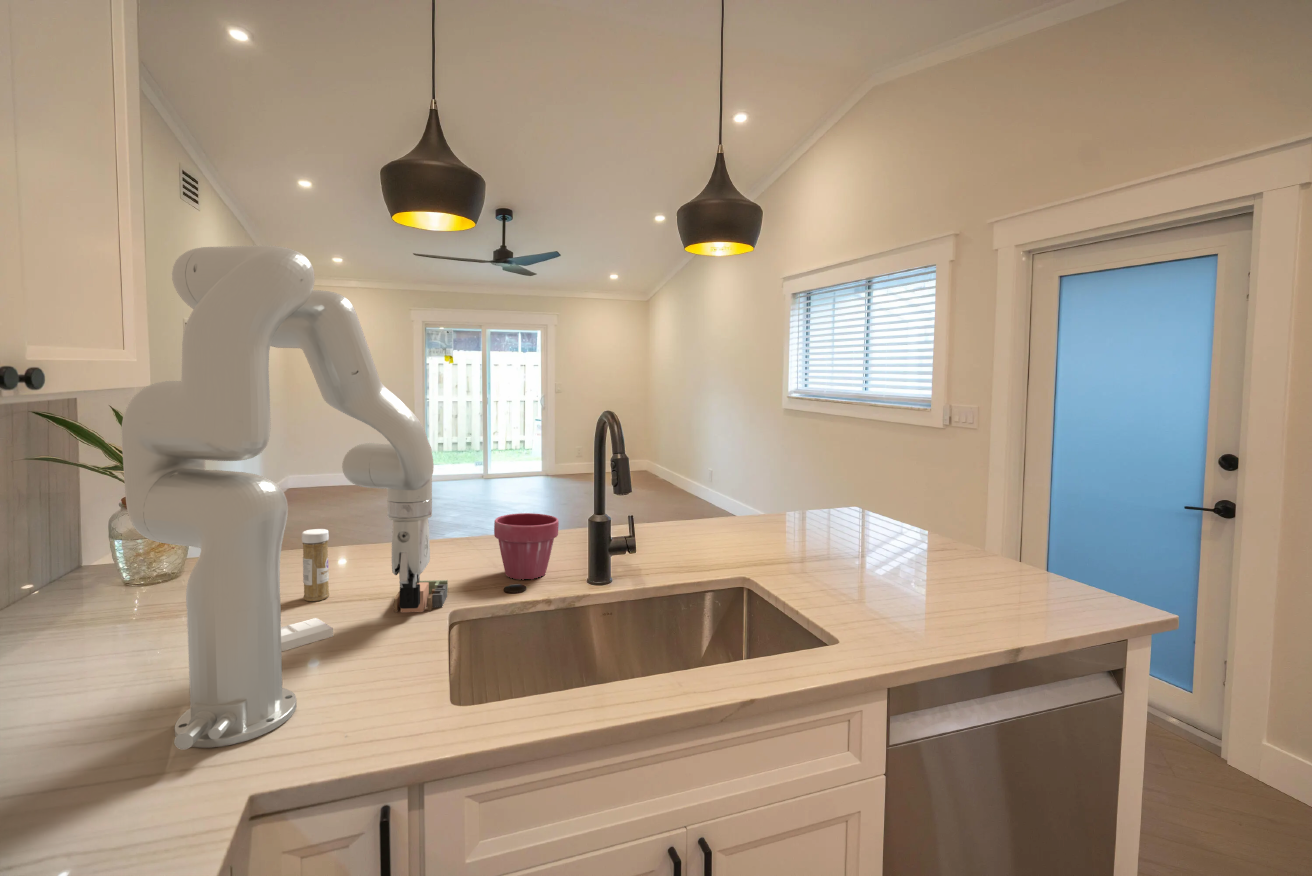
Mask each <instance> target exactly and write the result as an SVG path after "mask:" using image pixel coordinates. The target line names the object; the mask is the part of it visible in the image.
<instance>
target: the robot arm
mask: <svg viewBox="0 0 1312 876" xmlns="http://www.w3.org/2000/svg"><path fill="white" fill-rule="evenodd" d="M171 277H172V278H171V279H172V283H173V287H174V289H175V291H176V293H177V294H178V296H179V298H180V299H181V301H183V302H184V303H185V304H186V305H187V306H189V307H190V308H191V309H192V311H191V313H190V315H189V317H188V319H187V322H186V324H185V327H184V331H183V335H182V342H181V343H182V344H181V348H182V349H181V379H180V380H166V381H161V382H160V381H158V382H155V383H152V384H149V385H147V386H146V387H144V388H142V389H140V390H139V391H138V392H137V393H136V394H135V395H134V396H133V397H132V398H131V399H130V401H129V403H127V406H126V409H125V411H124V414H123V416H122V421H121V449H122V465H123V479H124V481H123V482H124V493H125V503H126V510H127V514H128V517H129V520H130V522H131V525H132V526H133V528H134V529H135V530H136V532H138V534H140V535H141V536H142V537H144V538H146V539H148V540H150V541H152V542H153V541H154V542H157V543H161V544H167V545H176V546H183V547H193V548H198V549H200V555H199V556H198V558H197V561H196V563H195V564H194V567H193V569H192V570H191V573H190V575H189V578H188V580H187V583H186V584H187V585H186V593H185V598H186V599H185V600H186V604H185V605H186V622H187V625H186V626H187V644H188V645H187V647H188V648H187V649H188V651H187V652H188V675H189V676H188V677H189V679H188V680H189V703H190V705H189V706H190V708H189V709H187V710H186V711H185V712H184V713H182V715H180V717H179V718H178V719H177V721H176V722H175V725H174V737H175V738H174V743H173V744H174V746H175V747H176V748H177V749H179V750H188V749H190V748H191V747H192V748H199V749H200V748H209V749H210V748H216V747H217V748H219V747H226V746H232V745H235V744H239V743H243V742H244V743H245V742H247V741H250V740H253V739H256V738H258V737H261V736H263V735H265V734H267V733H269V732H271V731H273V730H275V729H277V728H278V727H280V726H281V725H283V724H285V722H287V721H288V720H289V719H290V718H291V717H292V716H293V714H294V713H295V711H296V709H297V697H296V694H295V693H294V692H293V691H292V690H289V689H288V688H285V687H283V671H282V670H283V666H282V665H283V664H282V652H281V627H282V625H281V624H282V623H281V621H282V615H281V614H282V612H281V611H282V610H281V608H282V607H281V582H280V581H281V575H280V574H281V556H282V555H281V553H282V545H283V540H284V535H285V530H286V526H287V522H288V514H289V504H288V498H287V497H286V494H285V492H284V491H283V489H282V488H281V487H280V485H278V484H277V483H276V482H274V481H273V480H272V479H269V478H267V477H265V476H262V475H259V474H257V473H256V474H255V473H252V472H245V471H235V470H234V471H232V470H221V469H206V461H212V462H213V461H214V462H215V461H217V462H238V461H246V460H249V459H253V458H256V456H259V455H260V454H262V453H263V452H264V451H265V449H266V448H267V446H268V444H269V441H270V437H271V424H272V423H271V419H272V418H271V398H270V397H271V395H270V390H271V389H270V373H269V372H270V371H269V369H270V368H269V367H270V364H269V363H270V349H271V348H275V349H276V348H277V349H300V350H301V351H302V352H303V353H304V357H305V358H306V360H307V363H308V365H309V368H310V370H311V372H312V374H313V375H312V376H314V380H315V382H316V384H317V387H318V389H319V392H320V394H321V397H322V398H323V401H324V402H325V403H327V404H328V405H329V406H330V407H332V408H334V409H336V410H337V411H340V412H341V413H343V414H345V415H347V416H349V417H351V418H353V419H356V420H357V421H360V422H361V423H364V424H365V425H368V426H369V427H371V428H373V429H374V430H376V431H377V432H378V433H380V435H382V436H383V437H384V438H385V439H387V441H388V442H389V443H374V442H364V443H361V444H357V445H355V446H354V447H351V449H349V450H348V451H347V452H346V454H345V455H344V457H343V460H342V465H341V468H342V474H343V475H344V477H345V478H346V480H347V481H349V482H350V483H351V484H353V485H355V486H358V487H363V488H368V489H369V488H370V489H382V490H383V489H386V514H387V516H386V517H387V520H390V521H392V530H391V571H392V572H391V573H393V575H395V576H398V574H399V576H398V577H399V591H400V608H399V609H400V610H401V609H407V608H418V606H419V604H420V584H419V582H420V581H421V579H420V576H421V574H422V573H423V572H424V571H425V569H426V568H427V566H428V564H429V563H430V560H431V549H430V528H429V527H430V525H429V519H430V518H431V517H432V516H433V513H432V512H433V504H432V503H433V500H432V499H433V498H432V497H433V493H432V492H433V473H434V469H435V468H434V466H435V465H434V457H433V450H432V447H431V445H430V442H429V440H428V435H427V433H426V430H425V428H424V426H423V424H422V423H421V421H420V419H419V418H418V417H417V415H416V414H415V413H414V412H413V411H412V410H411V409H410V408H409V407H408V406H407V405H406V403H404V402H403V401H402V400H401V399H400V398H399V397H398V396H397V395H396V394H395V393H393V392H392V391H391V390H390V389H388V388H387V387H386V386H385V385H384V384H383V383H382V381H381V378H380V376H379V374H378V370H377V366H376V364H375V362H374V358H373V357H372V356H373V355H372V354H371V351H370V348H369V344H368V342H367V340H366V336H365V333H364V331H363V328H362V324H361V321H360V319H359V317H358V314H357V312H356V309H355V307H354V306H353V304H352V302H351V301H350V300H349V299H348V298H347V297H346V296H344V295H342V294H340V293H337V292H334V291H328V290H318V289H317V290H316V289H314V287H315V280H316V279H315V278H316V277H315V270H314V267H313V265H312V263H311V261H310V260H309V258H307V256H306V255H304V254H303V253H301V252H300V251H297V250H295V249H293V248H290V247H285V246H280V245H279V246H278V245H263V244H262V245H237V246H203V247H202V246H201V247H196V248H192V249H190V250H187V251H185V252H184V253H182V254H181V255H179V256H178V258H177V259H175V262H174V263H173V266H172V271H171Z"/></svg>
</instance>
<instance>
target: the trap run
mask: <svg viewBox="0 0 1312 876" xmlns="http://www.w3.org/2000/svg"><path fill="white" fill-rule="evenodd" d="M420 582H429V596H428V604H427V606H426V608H427V612H431V611H432V610H433V608H443V607H444V605H443V604H445V602H446V600H447V597H448V591H449V587H448V586H449V584H448V583H449V581H448V579H441V580H440V579H439V580H435V579H434V580H420ZM420 582H419V583H420ZM442 606H443V607H442ZM400 609H401V608H400V590H399V591H398V592H397V594H396V595H395V597H394V598H393V613H398V611H399V610H400Z"/></svg>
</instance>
